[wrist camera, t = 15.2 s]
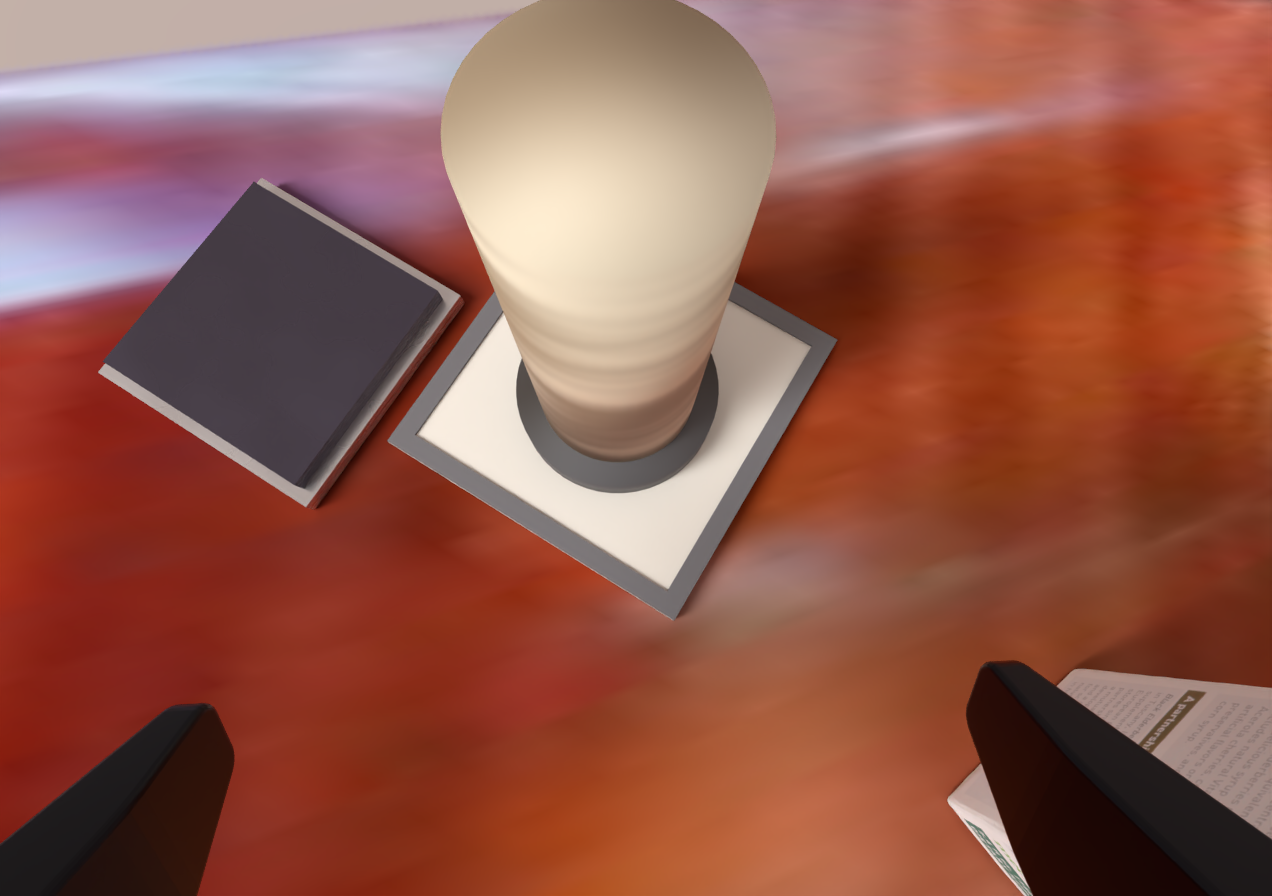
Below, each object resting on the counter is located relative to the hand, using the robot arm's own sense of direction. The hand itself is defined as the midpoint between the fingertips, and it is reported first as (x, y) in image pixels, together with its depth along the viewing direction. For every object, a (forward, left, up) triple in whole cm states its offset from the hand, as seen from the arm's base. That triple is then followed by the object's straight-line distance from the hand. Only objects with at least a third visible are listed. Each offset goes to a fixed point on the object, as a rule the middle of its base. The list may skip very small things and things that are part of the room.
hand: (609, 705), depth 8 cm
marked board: (+4, -7, -13) cm, 15 cm away
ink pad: (+14, -3, -13) cm, 19 cm away
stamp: (+4, -6, -12) cm, 14 cm away
